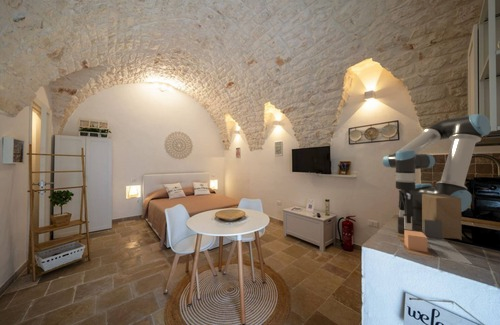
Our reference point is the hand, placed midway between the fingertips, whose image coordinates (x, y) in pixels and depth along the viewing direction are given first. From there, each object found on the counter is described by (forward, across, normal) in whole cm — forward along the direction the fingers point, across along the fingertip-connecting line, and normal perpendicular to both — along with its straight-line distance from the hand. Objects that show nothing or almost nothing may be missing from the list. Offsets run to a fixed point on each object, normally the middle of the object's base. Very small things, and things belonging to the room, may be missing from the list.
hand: (405, 225), depth 92 cm
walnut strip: (+5, +11, 0) cm, 12 cm away
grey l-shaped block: (+5, +11, +10) cm, 16 cm away
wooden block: (+5, -7, +15) cm, 18 cm away
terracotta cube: (+4, +16, 0) cm, 16 cm away
